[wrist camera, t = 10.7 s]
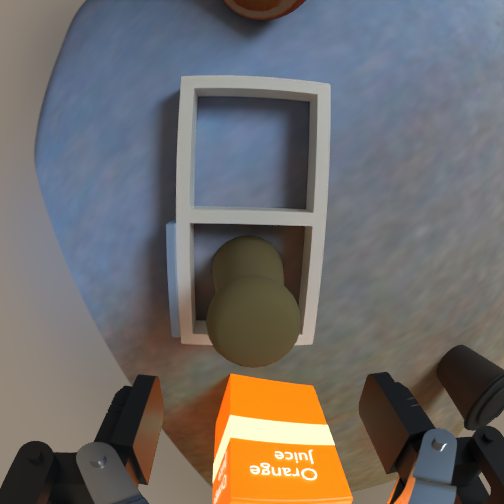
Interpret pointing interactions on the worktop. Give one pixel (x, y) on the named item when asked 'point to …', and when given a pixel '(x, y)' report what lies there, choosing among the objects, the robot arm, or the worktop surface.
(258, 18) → the fruit slice
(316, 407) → the orange juice
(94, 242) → the worktop surface
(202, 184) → the worktop surface
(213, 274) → the olive rounded piece
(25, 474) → the robot arm
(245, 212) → the white flat rectangular frame
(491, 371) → the coffee cup
